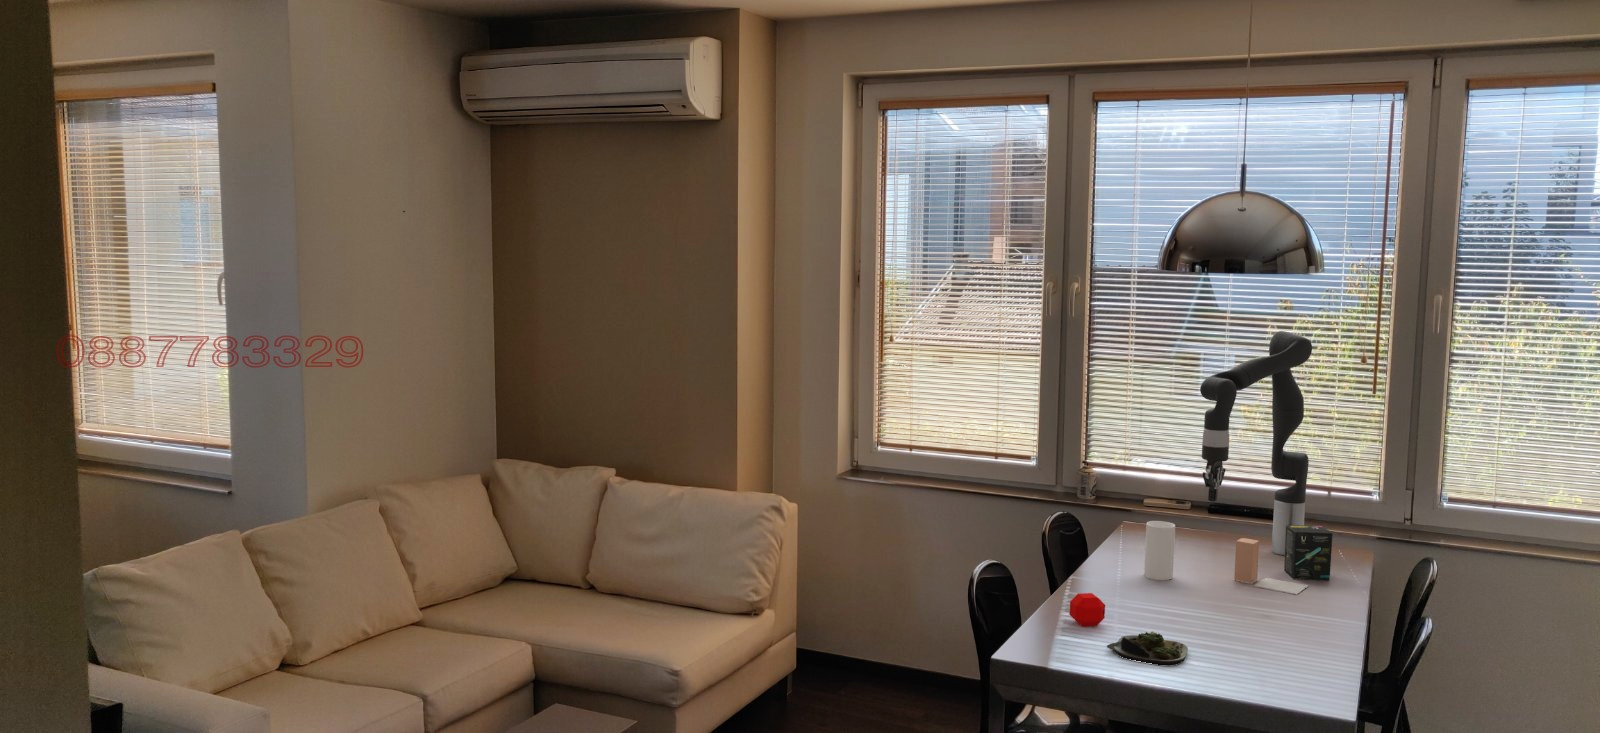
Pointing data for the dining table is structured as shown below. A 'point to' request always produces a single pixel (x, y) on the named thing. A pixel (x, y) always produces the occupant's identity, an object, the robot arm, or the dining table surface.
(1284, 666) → the dining table surface
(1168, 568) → the cup
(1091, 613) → the ball
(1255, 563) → the block
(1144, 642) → the salad plate
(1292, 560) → the tampon box
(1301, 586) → the mat
